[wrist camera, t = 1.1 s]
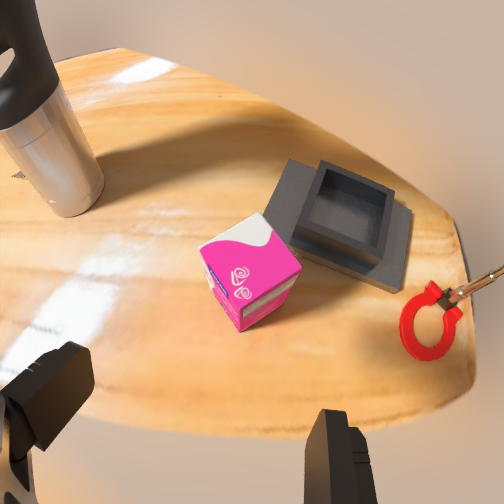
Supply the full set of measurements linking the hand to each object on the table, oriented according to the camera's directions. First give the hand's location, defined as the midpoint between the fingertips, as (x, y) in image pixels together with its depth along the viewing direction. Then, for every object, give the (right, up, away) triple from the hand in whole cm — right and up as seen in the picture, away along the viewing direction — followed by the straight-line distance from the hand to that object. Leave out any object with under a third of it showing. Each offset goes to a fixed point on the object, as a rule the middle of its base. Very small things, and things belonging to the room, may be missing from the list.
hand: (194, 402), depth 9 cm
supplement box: (+1, 0, +23) cm, 24 cm away
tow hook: (+23, -4, +23) cm, 33 cm away
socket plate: (+13, +8, +28) cm, 32 cm away
